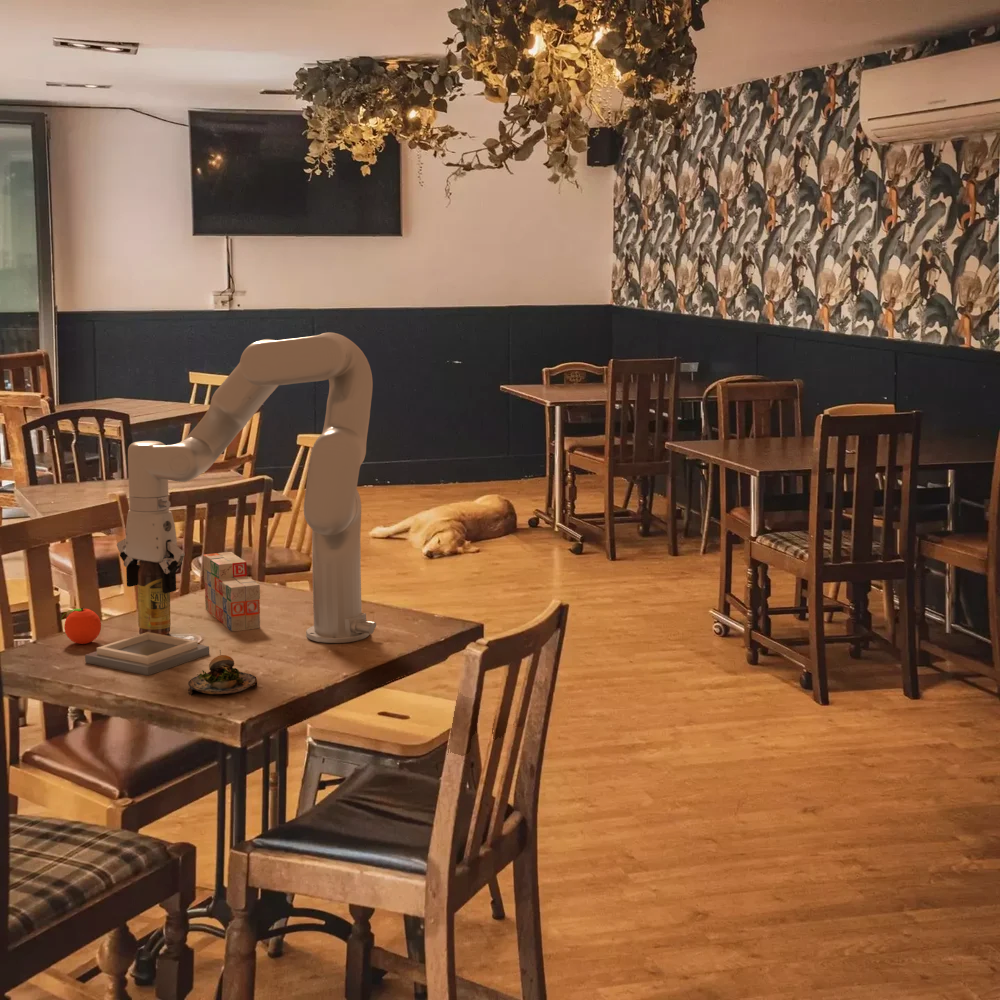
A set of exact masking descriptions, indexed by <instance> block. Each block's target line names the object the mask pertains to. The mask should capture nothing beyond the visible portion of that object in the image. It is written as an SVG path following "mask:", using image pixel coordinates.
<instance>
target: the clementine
mask: <svg viewBox="0 0 1000 1000" xmlns="http://www.w3.org/2000/svg"><path fill="white" fill-rule="evenodd" d="M69 612H71V613H69ZM66 613H69V614H68V615H67V617H66V619H65V622H64V627H63V628H64V632H65V634H66V636H67V638H69V640H70V641H71V642H73V643H75V644H79V645H85V644H86V645H87V644H90V643H92V642H93V641H95V640H96V639H97V638H98V637H99V635H100V634H101V629H102V622H101V618H100V616H99V615H98V614H97V613H96V612H95V611H93V610H92V609H90V608H83V607H81V608H74V609H70V610H68V611H67V612H65V614H66ZM65 614H63V615H62V616H61V618H60V620H62V619H63V617H64V616H65Z"/></svg>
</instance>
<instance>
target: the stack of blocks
mask: <svg viewBox="0 0 1000 1000" xmlns="http://www.w3.org/2000/svg"><path fill="white" fill-rule="evenodd" d="M202 561H203V581H204V603H205V604H204V605H205V610H207V612H208V613H209V614H210V615H212V617H213V618H215V619H217V620H218V621H219V622H221V624H223V626H224V627H226V628H227V629H228V630H229V631H230V632H239V631H246V630H247V631H248V630H255V629H260V628H261V615H260V614H261V605H260V599H261V585H260V583H257V582H256V581H255V580H254V579H252V577H249V576H248V568H247V561H246V560H244V559H242V558H241V557H239V556H238V555H236V554H235V553H234V552H232V551H224V552H218V553H217V552H216V553H207V554H205V553H204V554H202Z"/></svg>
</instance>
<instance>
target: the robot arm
mask: <svg viewBox="0 0 1000 1000" xmlns="http://www.w3.org/2000/svg"><path fill="white" fill-rule="evenodd" d="M370 365H371V364H370V363H369V361H368V358H367V357H366V355H365V354H364V352H363V350H361V348H360V347H359V346H358V345H357V344H356V343H355V342H354V341H352V340H351V339H349V338H348V337H347V336H345V335H342V334H340V333H336V332H332V331H331V332H328V331H327V332H323V333H321V334H316V335H311V336H303V337H295V338H286V339H285V338H284V339H278V340H277V339H276V340H275V339H272V338H265V339H261V340H257V341H255V342H252V343H251V344H249V345H248V346H247V347H246V348H245V349H244V350H243V352H242V353H241V355H240V360H239V363H237V365H236V366H235V368H234V369H233V370H232V371H231V373H230V374H229V375H228V376H227V377H226V379H224V381H223V382H221V384H220V385H219V386H218V388H217V389H216V390H215V391H214V393H213V395H212V397H211V400H210V404H209V407H208V409H207V411H206V412H205V414H204V415H203V417H202V418H201V420H200V421H198V423H197V424H196V426H195V427H193V429H192V430H191V431H190V433H189V434H188V435H187V436H186V437H185V438H184V439H183V440H182V441H180V442H177V443H174V444H167V445H166V444H165V443H163V442H161V441H158V440H157V441H156V440H142V441H134V442H132V443H131V444H129V446H128V449H127V466H128V468H127V469H128V471H127V472H128V503H129V510H128V512H127V516H126V525H125V538H124V539H122V540H120V541H118V542H117V543H116V547H117V549H118V552H119V557H120V559H121V560H122V562H123V566H124V567H125V568H126V569H125V571H126V573H125V575H126V577H125V578H126V587H128V588H130V587H134V586H135V587H136V586H138V571H139V568H140V566H141V565H140V564H138V563H139V562H140V561H142V562H143V561H147V562H153V563H159V564H160V565H161V567H162V569H163V570H164V572H165V573H163V574H162V592H163V593H169V592H170V593H173V592H176V591H177V573H176V572H178V571H179V569H180V567H182V565H183V560H184V558H185V555H186V554H185V552H184V551H183V550H182V549H181V548H180V547H179V546H178V539H177V531H176V525H175V521H174V520H175V519H174V515H173V512H172V511H170V507H171V503H172V502H171V501H170V500H169V498H170V497H169V481H172V482H182V483H185V482H190V481H192V480H195V479H196V478H198V477H199V476H200V475H202V474H204V473H206V472H207V471H208V470H209V469H210V468H211V467H212V466H213V465H214V463H215V462H216V461H217V460H218V459H219V457H220V456H221V455H222V454H223V453H224V452H225V450H226V449H227V448H228V447H229V445H230V444H231V443H232V442H233V441H234V439H235V438H236V437H237V435H239V433H240V432H241V431H242V430H243V429H244V428H245V427H246V426H247V424H248V422H249V421H250V420H251V419H252V418H253V416H254V415H255V414H256V413H257V412H258V411H259V409H260V408H261V407H262V406H263V405H264V403H265V402H266V400H268V398H269V397H270V395H272V394H273V392H274V391H276V389H277V388H278V387H279V386H285V385H293V384H303V383H311V382H312V383H313V382H322V381H327V380H328V383H329V389H328V395H327V401H326V409H325V410H326V411H325V415H324V416H325V417H324V422H323V423H324V425H323V429H322V432H321V434H320V435H319V436H318V437H317V438H316V440H315V441H314V444H313V446H312V449H311V452H310V457H309V464H308V470H307V471H308V472H307V477H306V478H307V479H306V487H305V493H304V500H303V515H304V519H305V522H306V523H307V525H308V526H309V528H310V529H312V531H311V532H312V534H311V544H312V545H311V563H312V569H311V571H312V572H311V573H312V598H313V599H312V601H313V603H312V604H313V605H312V606H313V607H312V608H313V609H312V611H313V625H312V626H310V627H308V628H307V629H306V631H305V635H306V638H307V639H308V640H311V641H313V642H318V643H325V644H342V643H344V644H345V643H351V642H352V643H353V642H357V641H358V642H359V641H361V640H364V639H366V638H367V637H369V636H370V635H371V634H373V633H374V632H375V629H376V628H377V623H376V622H375V621H368V620H367V613H365V612H362V611H363V610H362V571H361V570H362V565H361V564H362V563H361V562H362V561H361V559H362V557H361V554H362V553H361V549H362V548H361V545H362V543H361V533H362V530H361V529H362V527H361V526H362V502H361V501H362V500H361V496H360V493H359V491H358V489H357V488H358V484H359V483H358V482H359V475H360V468H361V466H362V464H363V463H364V460H365V457H366V455H367V439H368V434H369V433H368V432H369V424H370V416H371V406H372V398H373V385H374V384H373V383H374V382H373V375H372V373H373V372H372V370H371V366H370Z"/></svg>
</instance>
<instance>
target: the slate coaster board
mask: <svg viewBox="0 0 1000 1000" xmlns="http://www.w3.org/2000/svg"><path fill="white" fill-rule="evenodd" d="M198 643H199V642H198V640H193V639H187V638H183V637H177V636H173V635H172V636H171V635H168V634H167V635H161V634H156V633H151V632H146V633H143V634H136V635H134V636H130V637H126V638H124V639H120V640H117V641H114V642H111V643H107V644H105V645H102V646H98V647H96V651H93V652H89V653H86V654H85V655H84V660H85V662H86V664H90V665H91V664H92V665H96V666H99V667H100V666H101V667H105V668H110V669H115V670H119V671H125V672H129V673H132V674H133V673H134V674H138V675H143V676H150V675H153V674H156V673H159V672H162V671H165V670H168V669H171V668H174V667H176V666H180V665H182V664H186V663H189V662H191V661H194V660H196V659H200V658H202V657H204V656H207V655H210V646H209V645H204V644H198ZM85 662H84V663H85Z"/></svg>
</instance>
